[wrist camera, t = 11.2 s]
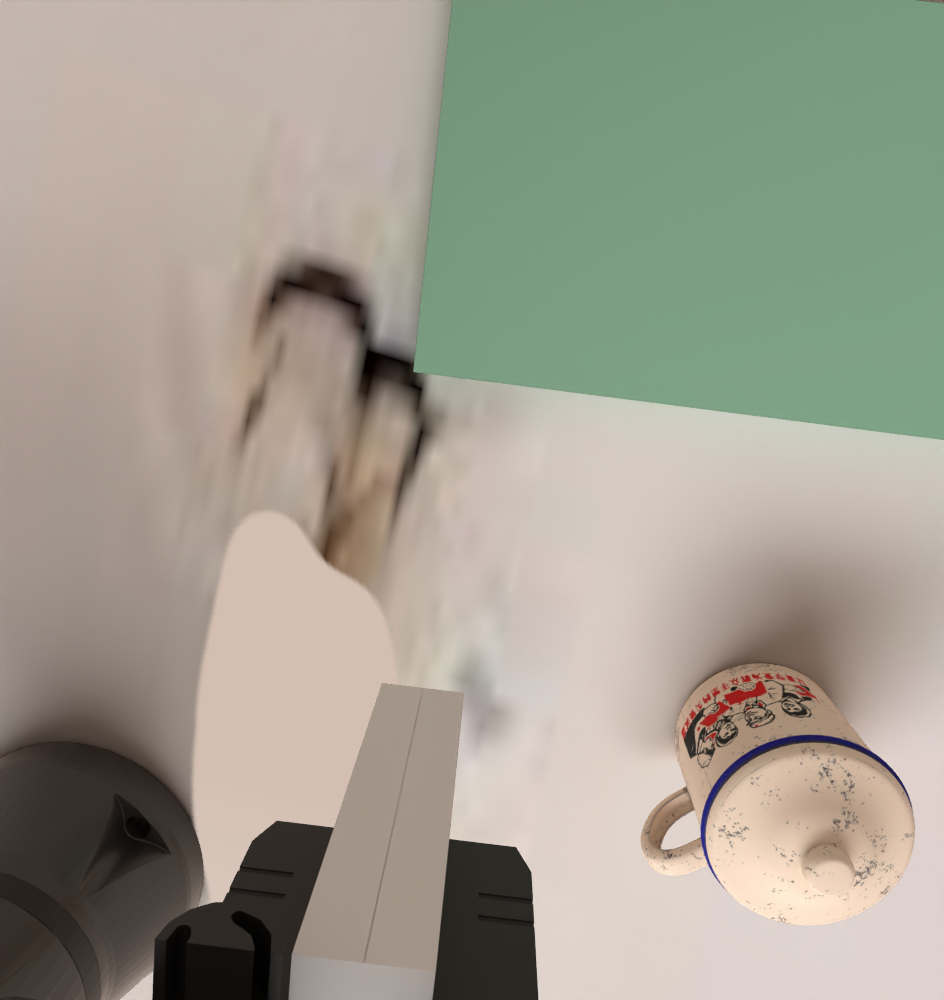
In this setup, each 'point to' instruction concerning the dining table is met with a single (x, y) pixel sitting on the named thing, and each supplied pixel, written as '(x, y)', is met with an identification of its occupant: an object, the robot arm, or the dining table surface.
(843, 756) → the teacup with lid
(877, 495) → the dining table surface
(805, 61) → the green slab with pocket
